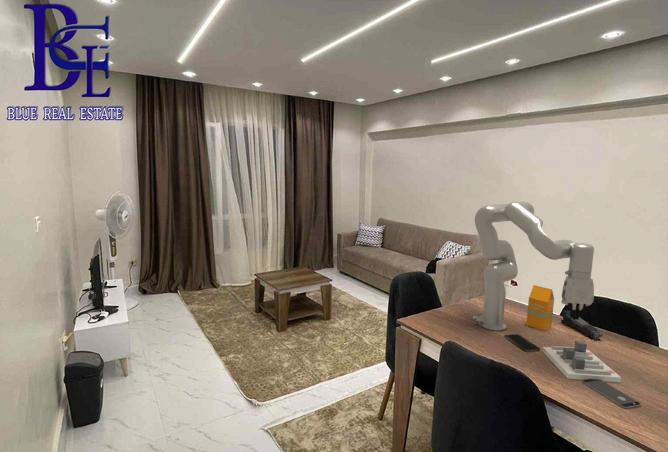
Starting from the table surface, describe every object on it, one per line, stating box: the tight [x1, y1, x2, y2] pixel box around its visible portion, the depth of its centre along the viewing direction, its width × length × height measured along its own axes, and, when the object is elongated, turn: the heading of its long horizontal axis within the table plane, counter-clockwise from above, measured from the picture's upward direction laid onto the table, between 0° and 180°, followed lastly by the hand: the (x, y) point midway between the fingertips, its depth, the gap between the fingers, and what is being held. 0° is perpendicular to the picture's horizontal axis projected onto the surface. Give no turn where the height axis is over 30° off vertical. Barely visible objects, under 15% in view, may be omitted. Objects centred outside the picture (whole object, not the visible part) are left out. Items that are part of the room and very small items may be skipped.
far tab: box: [574, 340, 588, 352], centre depth 149 cm, size 3×3×4 cm
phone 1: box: [503, 333, 541, 353], centre depth 162 cm, size 8×1×15 cm
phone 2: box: [581, 379, 642, 410], centre depth 125 cm, size 8×1×16 cm
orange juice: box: [526, 285, 555, 332], centre depth 179 cm, size 8×9×20 cm
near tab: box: [572, 357, 585, 370], centre depth 136 cm, size 3×3×4 cm
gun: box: [560, 309, 604, 341], centre depth 175 cm, size 4×20×10 cm, turn 10°
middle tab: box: [562, 348, 575, 360], centre depth 143 cm, size 3×3×4 cm
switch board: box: [541, 345, 622, 384], centre depth 143 cm, size 18×21×3 cm
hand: (574, 318), depth 147 cm, fingers closed
